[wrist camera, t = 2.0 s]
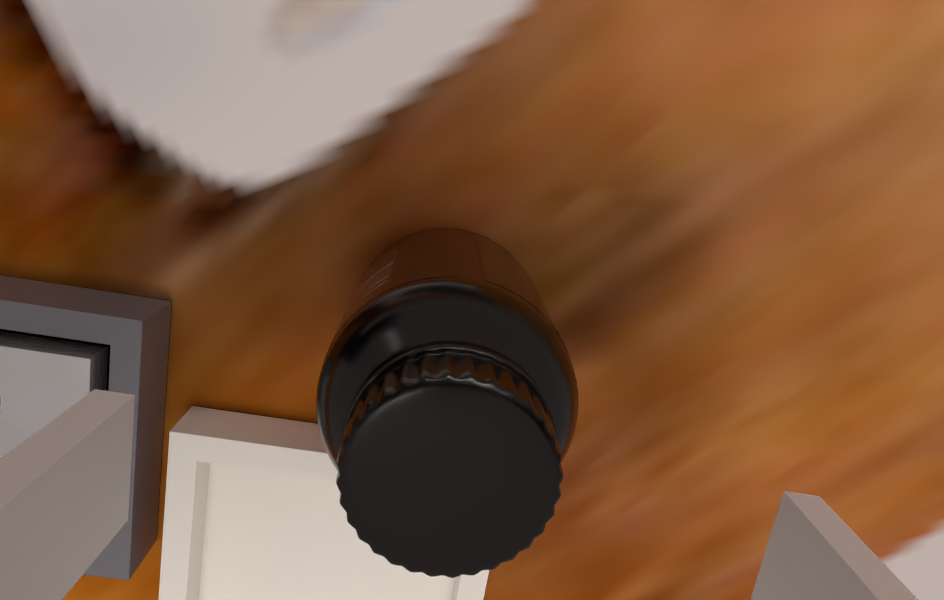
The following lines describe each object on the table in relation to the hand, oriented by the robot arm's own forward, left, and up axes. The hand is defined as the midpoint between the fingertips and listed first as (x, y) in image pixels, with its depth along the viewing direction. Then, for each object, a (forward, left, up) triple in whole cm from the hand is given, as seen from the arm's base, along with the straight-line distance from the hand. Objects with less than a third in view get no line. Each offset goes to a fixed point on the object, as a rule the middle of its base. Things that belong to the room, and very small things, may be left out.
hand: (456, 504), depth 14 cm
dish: (-3, -11, -12) cm, 17 cm away
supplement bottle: (0, 0, -13) cm, 13 cm away
